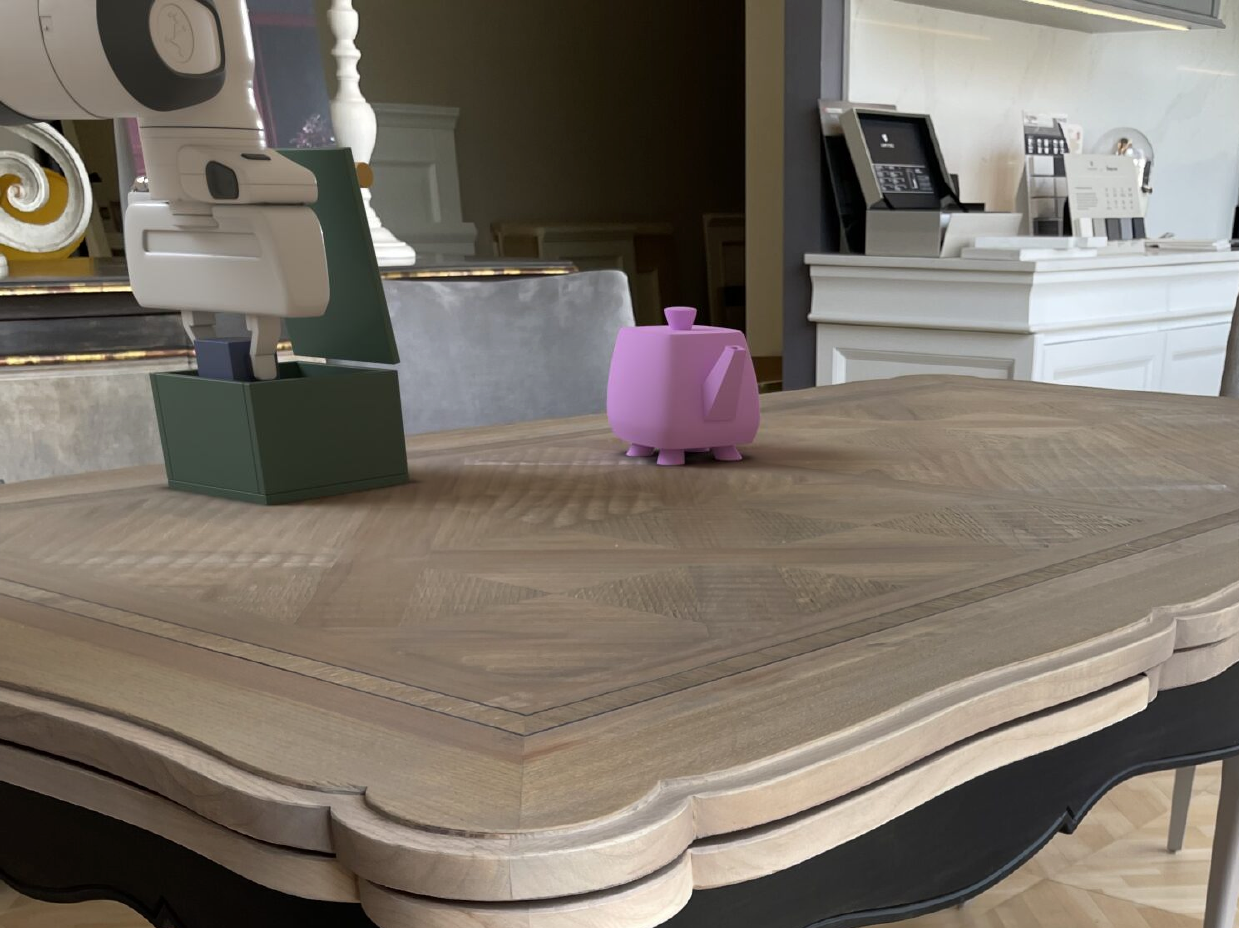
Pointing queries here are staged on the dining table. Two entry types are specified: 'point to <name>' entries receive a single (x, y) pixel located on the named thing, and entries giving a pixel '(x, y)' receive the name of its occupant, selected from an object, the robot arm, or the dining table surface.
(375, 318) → the lid
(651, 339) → the teapot
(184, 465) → the chest
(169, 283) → the robot arm
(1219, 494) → the dining table surface
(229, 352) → the block
